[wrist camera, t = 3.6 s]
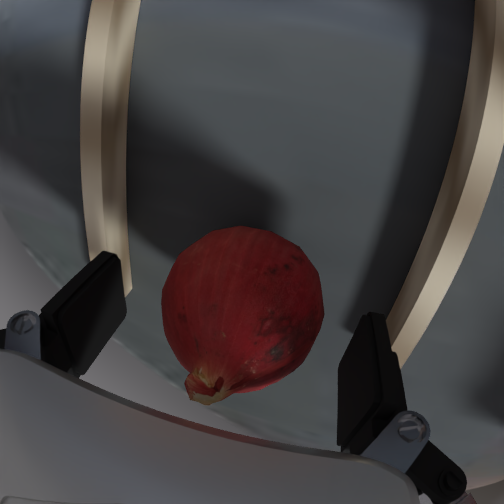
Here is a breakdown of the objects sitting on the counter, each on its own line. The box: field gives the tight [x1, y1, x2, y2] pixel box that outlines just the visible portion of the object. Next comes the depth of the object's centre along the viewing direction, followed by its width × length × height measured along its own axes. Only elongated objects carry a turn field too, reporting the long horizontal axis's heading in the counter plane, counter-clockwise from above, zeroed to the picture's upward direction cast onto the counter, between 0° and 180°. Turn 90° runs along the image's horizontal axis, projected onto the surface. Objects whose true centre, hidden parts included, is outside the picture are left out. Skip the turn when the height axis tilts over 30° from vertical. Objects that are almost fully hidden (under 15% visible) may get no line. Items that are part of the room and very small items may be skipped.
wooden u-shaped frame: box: [80, 0, 504, 369], centre depth 9 cm, size 21×16×4 cm
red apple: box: [161, 226, 324, 405], centre depth 11 cm, size 6×6×8 cm
